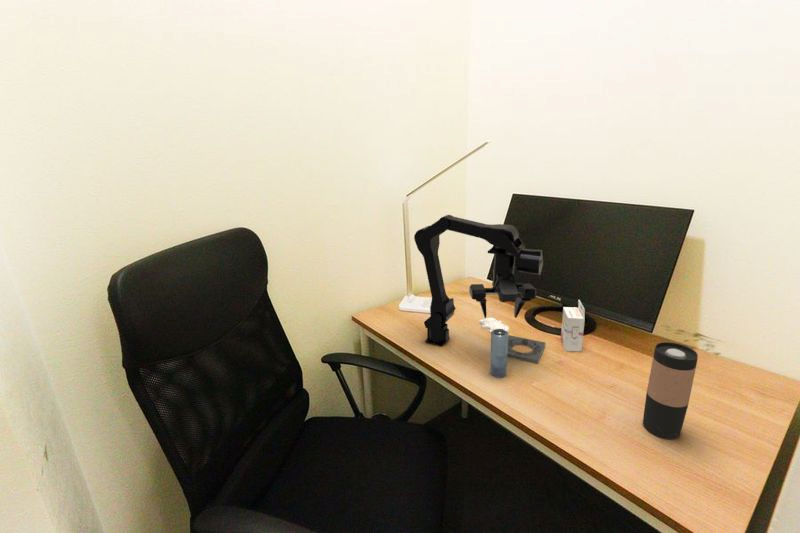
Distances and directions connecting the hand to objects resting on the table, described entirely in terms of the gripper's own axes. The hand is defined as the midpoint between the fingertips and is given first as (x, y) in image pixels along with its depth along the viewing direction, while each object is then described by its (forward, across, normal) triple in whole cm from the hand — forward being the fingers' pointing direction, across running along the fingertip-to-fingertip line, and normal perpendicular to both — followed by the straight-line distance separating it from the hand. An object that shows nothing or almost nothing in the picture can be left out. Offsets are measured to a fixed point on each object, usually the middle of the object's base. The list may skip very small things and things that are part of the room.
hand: (500, 317), depth 115 cm
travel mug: (+12, +29, -34) cm, 46 cm away
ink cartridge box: (+13, +25, +4) cm, 28 cm away
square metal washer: (+13, +8, +2) cm, 15 cm away
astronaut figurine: (+14, +3, +19) cm, 24 cm away
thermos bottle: (+13, -2, -10) cm, 17 cm away
